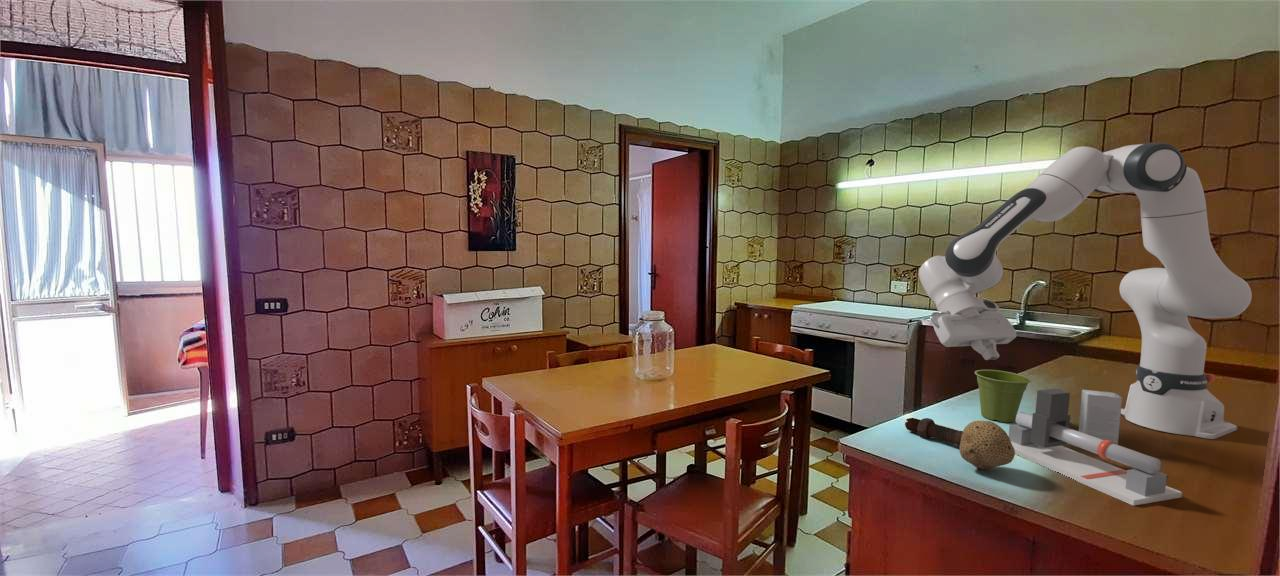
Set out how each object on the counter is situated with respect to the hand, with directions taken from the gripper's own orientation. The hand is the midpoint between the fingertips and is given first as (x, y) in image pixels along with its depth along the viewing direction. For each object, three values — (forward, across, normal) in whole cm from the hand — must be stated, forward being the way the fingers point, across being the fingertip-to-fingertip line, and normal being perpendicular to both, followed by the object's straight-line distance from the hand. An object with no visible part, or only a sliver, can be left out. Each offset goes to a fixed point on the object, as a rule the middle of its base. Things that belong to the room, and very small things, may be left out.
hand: (992, 358), depth 124 cm
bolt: (+15, -16, +11) cm, 24 cm away
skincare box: (+22, +17, +4) cm, 28 cm away
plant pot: (+8, +11, +17) cm, 22 cm away
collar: (+21, 0, 0) cm, 21 cm away
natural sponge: (+24, -19, +1) cm, 31 cm away
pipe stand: (+27, 0, -2) cm, 27 cm away
